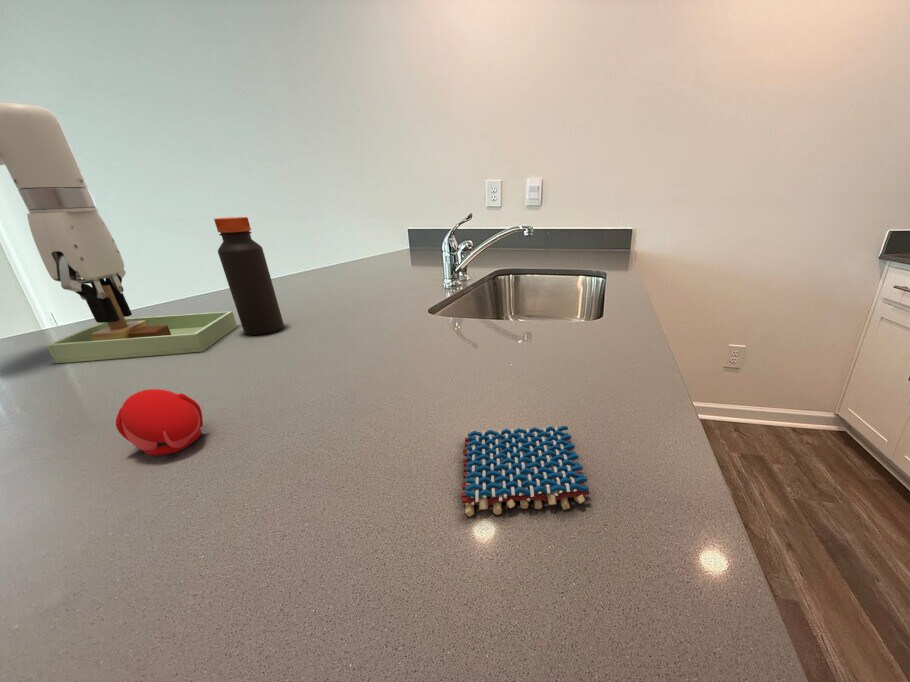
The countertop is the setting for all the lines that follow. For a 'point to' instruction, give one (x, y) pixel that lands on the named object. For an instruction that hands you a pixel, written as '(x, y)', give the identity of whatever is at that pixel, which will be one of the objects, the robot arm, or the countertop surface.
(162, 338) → the tray
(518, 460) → the woven mat
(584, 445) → the countertop surface
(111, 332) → the brush
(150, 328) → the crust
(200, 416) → the cap
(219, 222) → the bottle
